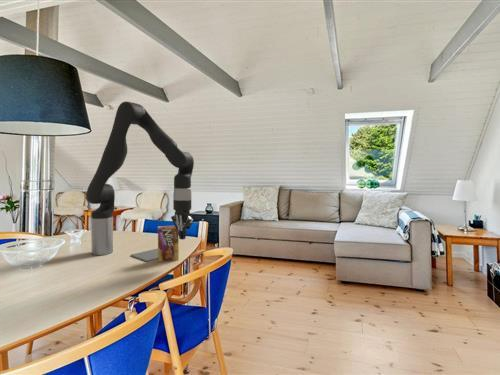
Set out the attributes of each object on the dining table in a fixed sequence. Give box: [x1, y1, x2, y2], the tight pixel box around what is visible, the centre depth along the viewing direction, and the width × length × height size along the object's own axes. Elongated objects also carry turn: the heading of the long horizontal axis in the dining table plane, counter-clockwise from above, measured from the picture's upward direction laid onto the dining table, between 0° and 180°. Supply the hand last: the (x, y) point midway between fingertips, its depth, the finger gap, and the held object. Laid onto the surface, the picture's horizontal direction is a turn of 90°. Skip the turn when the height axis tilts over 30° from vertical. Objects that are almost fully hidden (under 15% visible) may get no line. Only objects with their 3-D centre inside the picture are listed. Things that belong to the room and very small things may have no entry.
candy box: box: [157, 224, 180, 263], centre depth 128 cm, size 9×4×15 cm, turn 109°
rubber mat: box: [130, 247, 158, 263], centre depth 136 cm, size 14×16×1 cm
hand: (182, 239), depth 122 cm, fingers closed
